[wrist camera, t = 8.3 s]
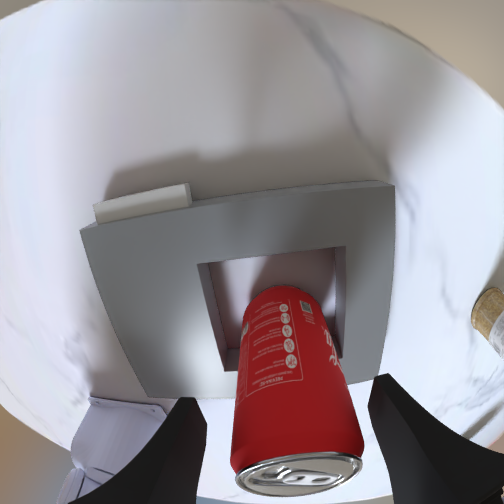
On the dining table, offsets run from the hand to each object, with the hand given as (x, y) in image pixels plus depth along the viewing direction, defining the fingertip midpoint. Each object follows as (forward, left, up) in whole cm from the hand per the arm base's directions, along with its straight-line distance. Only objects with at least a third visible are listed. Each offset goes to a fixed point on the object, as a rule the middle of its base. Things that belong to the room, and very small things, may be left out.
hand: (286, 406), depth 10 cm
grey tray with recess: (-2, 0, -9) cm, 9 cm away
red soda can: (0, -1, -9) cm, 9 cm away
